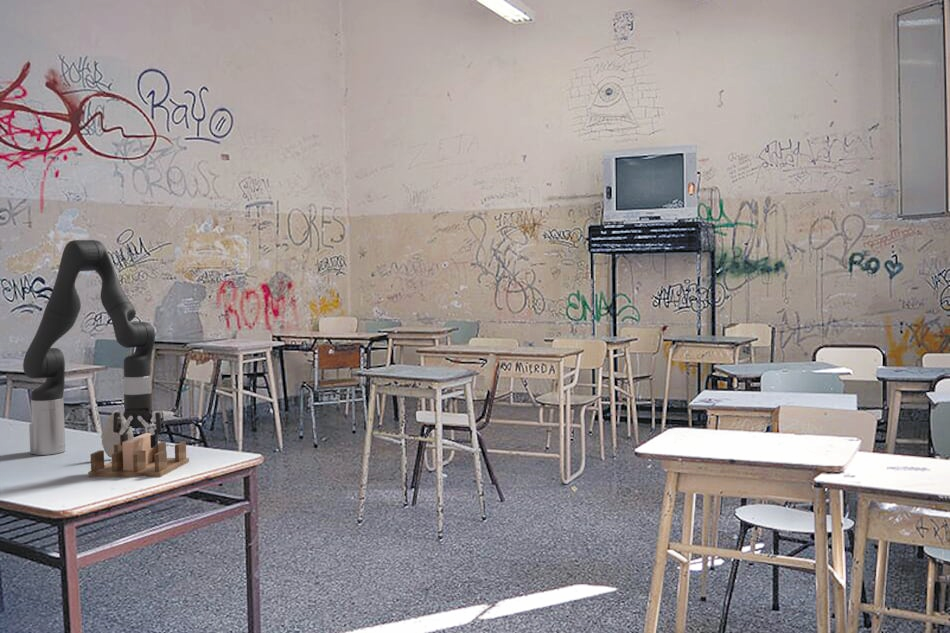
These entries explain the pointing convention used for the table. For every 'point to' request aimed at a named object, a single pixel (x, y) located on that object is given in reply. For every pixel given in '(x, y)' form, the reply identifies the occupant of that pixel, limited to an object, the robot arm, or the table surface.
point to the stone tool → (112, 435)
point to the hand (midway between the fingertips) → (139, 447)
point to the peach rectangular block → (137, 450)
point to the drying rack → (138, 462)
